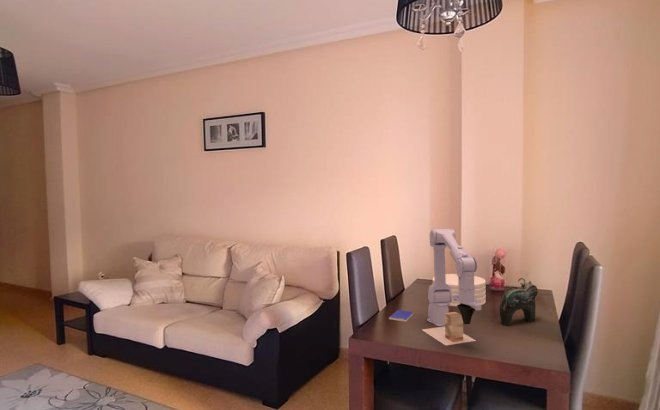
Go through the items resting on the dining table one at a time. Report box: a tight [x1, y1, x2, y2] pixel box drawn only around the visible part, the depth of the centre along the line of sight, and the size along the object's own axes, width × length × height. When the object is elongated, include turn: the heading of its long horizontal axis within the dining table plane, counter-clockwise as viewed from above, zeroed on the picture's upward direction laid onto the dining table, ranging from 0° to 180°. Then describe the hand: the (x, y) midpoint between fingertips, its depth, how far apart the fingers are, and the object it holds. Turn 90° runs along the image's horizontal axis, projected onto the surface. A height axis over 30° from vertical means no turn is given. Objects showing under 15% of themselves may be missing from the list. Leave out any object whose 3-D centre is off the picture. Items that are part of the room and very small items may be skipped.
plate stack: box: [432, 273, 487, 307], centre depth 210 cm, size 28×28×12 cm
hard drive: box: [388, 309, 414, 322], centre depth 183 cm, size 2×8×12 cm
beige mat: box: [422, 325, 477, 346], centre depth 157 cm, size 18×14×1 cm
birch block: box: [444, 311, 464, 342], centre depth 152 cm, size 5×5×10 cm
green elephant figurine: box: [499, 277, 538, 327], centre depth 171 cm, size 20×6×20 cm, turn 111°
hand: (466, 323), depth 144 cm, fingers closed
